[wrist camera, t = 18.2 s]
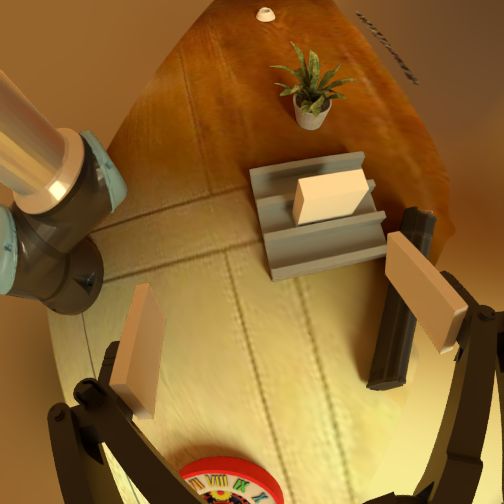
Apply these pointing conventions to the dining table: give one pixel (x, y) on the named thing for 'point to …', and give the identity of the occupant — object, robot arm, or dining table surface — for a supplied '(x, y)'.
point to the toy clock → (232, 481)
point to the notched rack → (315, 235)
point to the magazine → (400, 312)
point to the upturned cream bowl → (265, 15)
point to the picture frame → (328, 197)
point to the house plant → (312, 91)
